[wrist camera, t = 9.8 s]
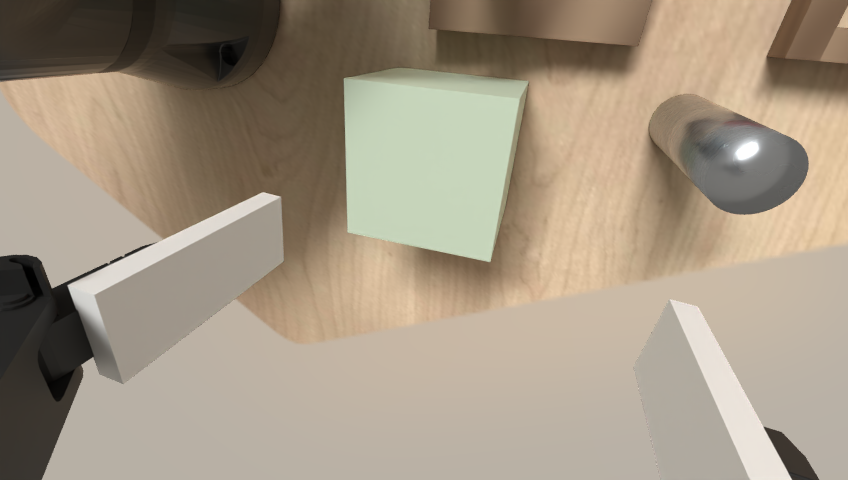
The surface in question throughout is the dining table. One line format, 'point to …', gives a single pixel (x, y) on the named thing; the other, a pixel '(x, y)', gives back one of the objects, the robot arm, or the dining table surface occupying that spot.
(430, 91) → the pale green cube
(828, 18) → the square hole block
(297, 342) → the dining table surface
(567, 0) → the board
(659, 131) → the peg
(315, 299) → the dining table surface
